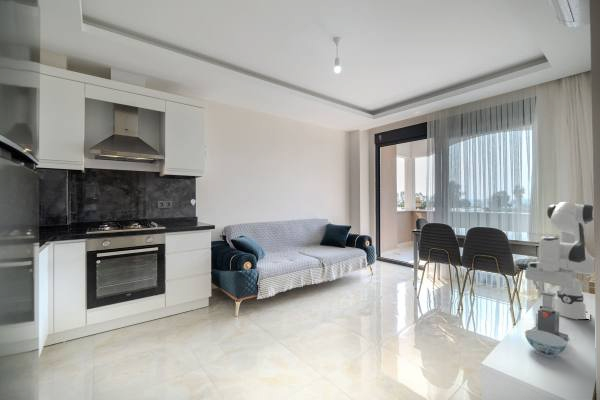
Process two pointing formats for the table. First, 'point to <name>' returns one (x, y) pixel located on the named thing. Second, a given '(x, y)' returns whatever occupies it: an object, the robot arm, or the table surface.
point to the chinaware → (545, 342)
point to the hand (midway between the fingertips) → (548, 291)
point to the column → (548, 302)
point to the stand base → (549, 323)
